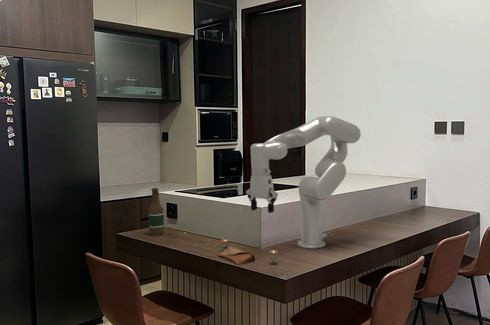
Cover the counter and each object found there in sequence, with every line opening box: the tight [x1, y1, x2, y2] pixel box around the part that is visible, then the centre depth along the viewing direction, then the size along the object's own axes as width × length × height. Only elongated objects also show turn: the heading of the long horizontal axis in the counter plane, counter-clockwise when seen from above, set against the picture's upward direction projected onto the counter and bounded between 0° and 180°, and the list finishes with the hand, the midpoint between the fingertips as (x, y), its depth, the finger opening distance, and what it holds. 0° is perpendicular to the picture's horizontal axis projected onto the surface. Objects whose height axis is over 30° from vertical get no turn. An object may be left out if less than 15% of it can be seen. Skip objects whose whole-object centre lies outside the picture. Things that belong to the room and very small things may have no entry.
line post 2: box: [269, 249, 279, 265], centre depth 194 cm, size 3×3×5 cm
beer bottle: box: [148, 187, 165, 237], centre depth 246 cm, size 8×8×24 cm
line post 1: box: [220, 238, 230, 252], centre depth 213 cm, size 3×3×5 cm
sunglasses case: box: [216, 244, 256, 266], centre depth 202 cm, size 18×7×7 cm, turn 36°
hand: (262, 211), depth 208 cm, fingers open, 9 cm apart
